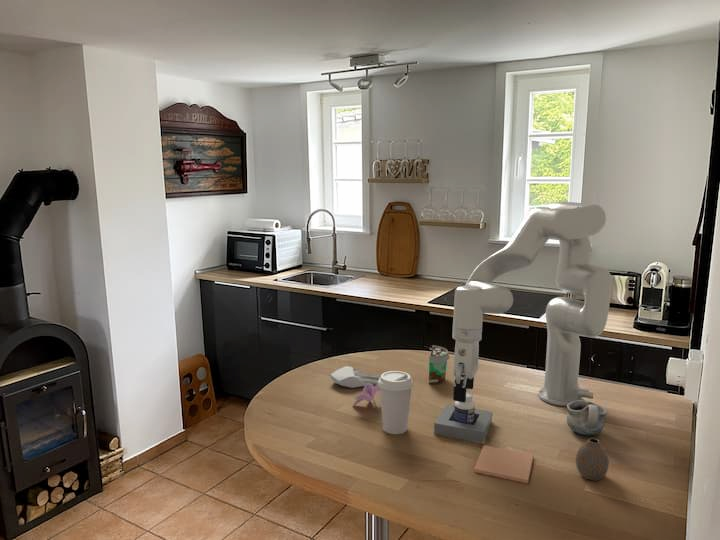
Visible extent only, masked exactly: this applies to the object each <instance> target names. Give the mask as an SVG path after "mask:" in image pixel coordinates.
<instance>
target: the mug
mask: <svg viewBox="0 0 720 540" xmlns="http://www.w3.org/2000/svg"><path fill="white" fill-rule="evenodd" d="M566 407H567V408H566V409H567V411H568V412H567V416H566V423H567V427H569V429H571V430H572V431H573V432H575V433H577V434H579V435H583V436H593V435H595V436H596V435H597V434H599V433H601V431H602V430H603V429H604V427H605V422H606V420H605V417H606V415H607V410H606V409H605V407H603V406H602V405H600V404H598V403H595V402H592V401H589V400H583V399H582V400H578V401H573V402H571V403H569V404H567V406H566Z"/></svg>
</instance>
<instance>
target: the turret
mask: <svg viewBox="0 0 720 540" xmlns="http://www.w3.org/2000/svg"><path fill="white" fill-rule="evenodd" d="M329 376H330V379H331V381H332V382H333V383H335V384H337V385H338V386H339V385H340V386H341V387H342V386H343V387H345V388H351V389H352V388H353V389H354V388H361V387H365V385H366V384H367V383H371V384H372V385H373V386H376V385H377V384H378V380H379V378H380V377H381V375H380V374H371V373H365V372H361V371H359V370H357V369H356V368H354V367H352V366H347V365H346V366H343V367H341V368H339V369H336V370H335V371H333V372H332V373H330V375H329Z"/></svg>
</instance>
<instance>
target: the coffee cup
mask: <svg viewBox="0 0 720 540" xmlns="http://www.w3.org/2000/svg"><path fill="white" fill-rule="evenodd" d="M380 376H381V377H380V378H379V380H378V385H379V386H380V390H379V394H380V405H381V407H380V408H381V420H382V430H383V431H384V432H385V433H387V434H390V435H401V434H404V433H406V432H407V430H408V422H409V414H410V407H411V406H410V403H411V396H412V388H413V387H414V384H415V383H414V380H413V379H412V376H411V375H410V373H407V372H404V371H400V370H389V371H385V372H383V373H382V374H381V375H380Z"/></svg>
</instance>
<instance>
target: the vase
mask: <svg viewBox="0 0 720 540" xmlns="http://www.w3.org/2000/svg"><path fill="white" fill-rule="evenodd" d="M575 455H576V456H575V465H576V470H577V471H578V473H579V474H580V475H581V476H582V477H583V478H584V479H586V480H589V481H599V480H601V479H603V478H605V476H606V475H607V473H608V471H609V466H610V465H609V464H610V463H609V455H608V453H607V451H606V449H604V447H603V445H602V443H601V441H600V440H599V439H598V438H596V437H595V438H594V437H589V438H588V439H587V441H586V442H585V443H583V444H582V445H581V446H580V447H579V448H578V450H577V452H576V454H575Z"/></svg>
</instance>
